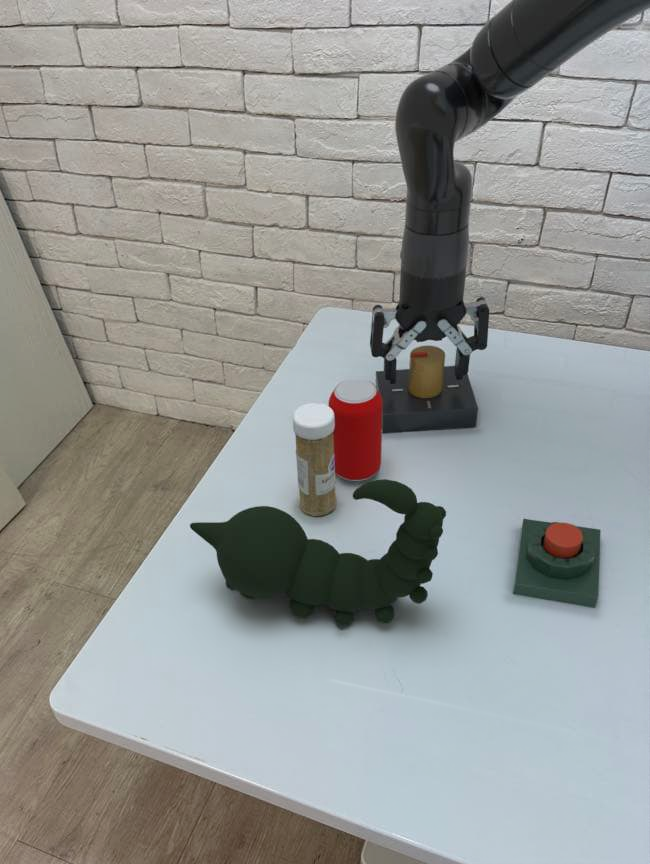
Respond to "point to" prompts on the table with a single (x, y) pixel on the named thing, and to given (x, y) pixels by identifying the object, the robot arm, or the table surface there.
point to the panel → (426, 404)
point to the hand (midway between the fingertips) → (425, 378)
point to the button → (563, 540)
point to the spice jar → (315, 458)
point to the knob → (426, 371)
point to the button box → (557, 567)
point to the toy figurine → (328, 557)
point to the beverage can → (357, 429)
